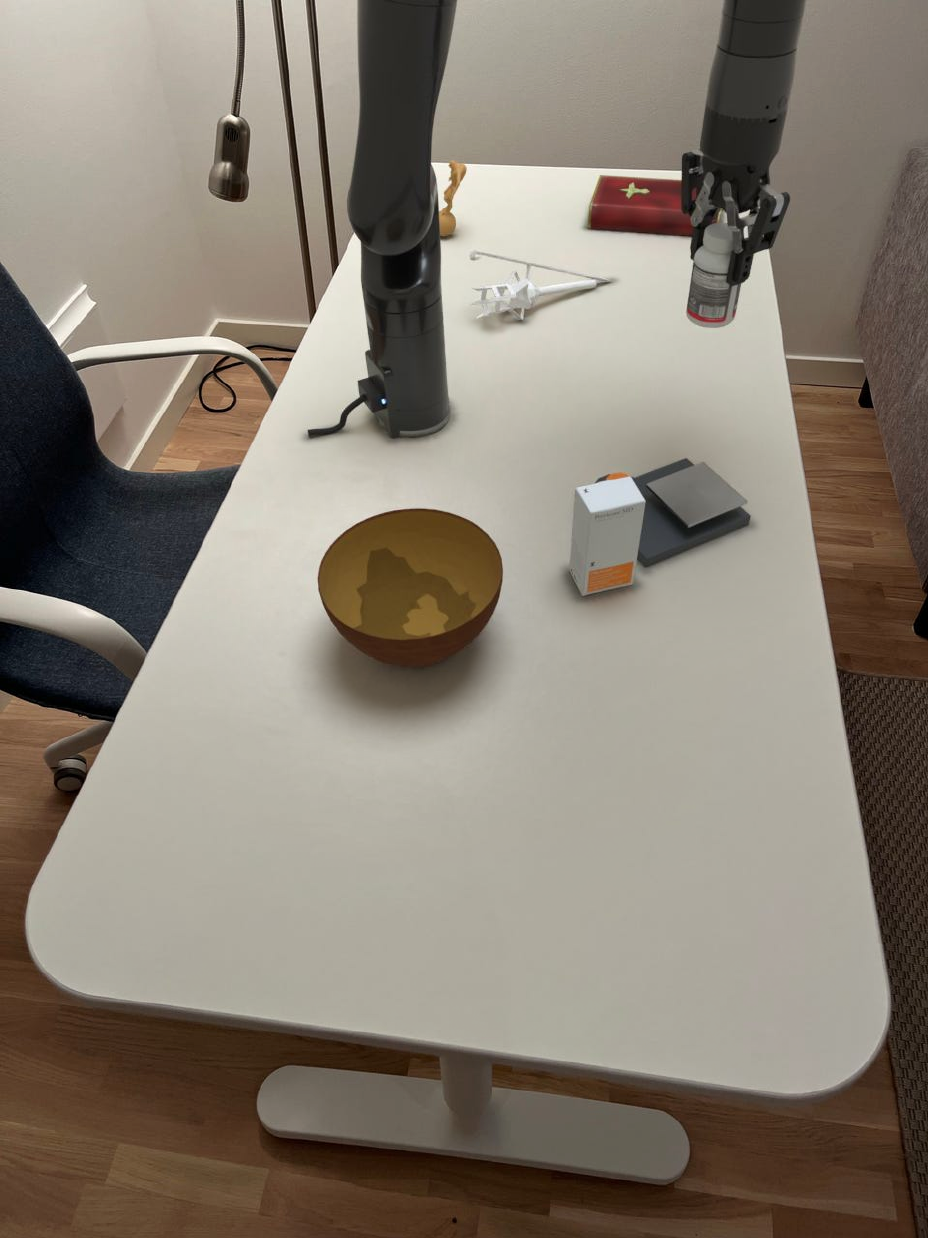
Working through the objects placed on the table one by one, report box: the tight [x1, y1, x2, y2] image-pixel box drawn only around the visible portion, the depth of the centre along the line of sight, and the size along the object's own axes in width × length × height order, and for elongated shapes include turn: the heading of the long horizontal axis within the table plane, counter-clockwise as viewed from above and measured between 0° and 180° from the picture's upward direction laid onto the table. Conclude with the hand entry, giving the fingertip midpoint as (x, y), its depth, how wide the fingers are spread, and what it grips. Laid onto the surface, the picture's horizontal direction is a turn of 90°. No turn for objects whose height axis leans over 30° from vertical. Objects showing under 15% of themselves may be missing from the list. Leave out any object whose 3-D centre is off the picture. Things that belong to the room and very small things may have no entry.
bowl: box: [317, 507, 504, 668], centre depth 92 cm, size 18×18×10 cm
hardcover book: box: [587, 174, 723, 237], centre depth 155 cm, size 12×21×4 cm, turn 76°
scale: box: [593, 457, 752, 568], centre depth 106 cm, size 14×12×3 cm
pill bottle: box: [685, 222, 742, 329], centre depth 100 cm, size 5×5×10 cm
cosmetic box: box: [568, 475, 646, 597], centre depth 96 cm, size 6×4×12 cm
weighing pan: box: [646, 461, 749, 528], centre depth 104 cm, size 8×8×1 cm
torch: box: [468, 249, 612, 321], centre depth 137 cm, size 6×9×25 cm
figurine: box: [439, 159, 468, 237], centre depth 151 cm, size 8×6×12 cm
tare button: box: [606, 472, 630, 480], centre depth 105 cm, size 3×3×2 cm
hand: (717, 270), depth 99 cm, fingers closed on pill bottle, 5 cm apart
